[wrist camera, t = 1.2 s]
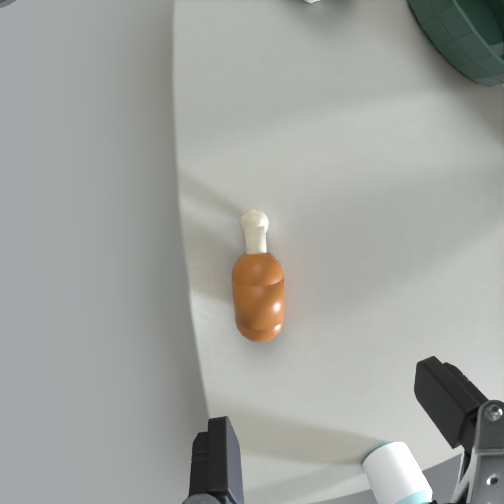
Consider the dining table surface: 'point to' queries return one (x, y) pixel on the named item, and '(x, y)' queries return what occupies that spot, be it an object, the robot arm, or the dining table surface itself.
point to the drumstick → (257, 283)
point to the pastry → (311, 1)
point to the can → (396, 476)
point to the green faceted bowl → (467, 35)
